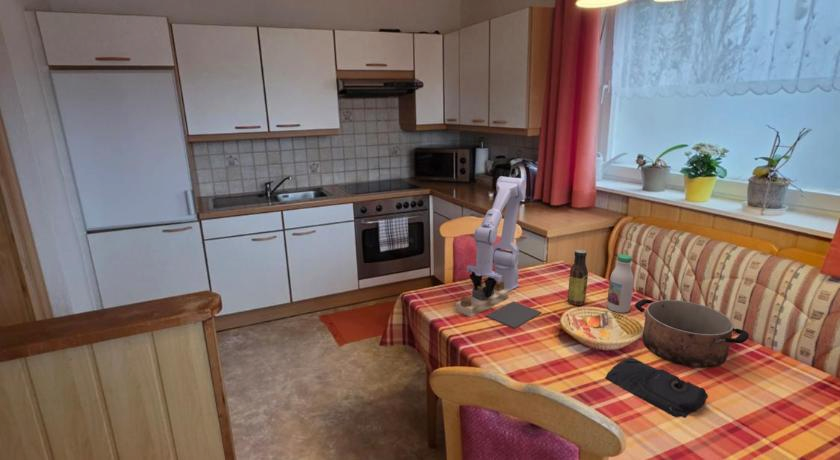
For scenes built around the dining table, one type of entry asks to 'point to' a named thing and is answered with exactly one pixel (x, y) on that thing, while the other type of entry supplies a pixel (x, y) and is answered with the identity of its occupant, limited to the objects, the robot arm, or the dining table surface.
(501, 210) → the robot arm
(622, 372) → the black flat holed part
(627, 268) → the milk bottle
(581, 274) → the sauce bottle
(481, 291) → the lever cap
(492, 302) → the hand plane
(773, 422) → the dining table surface
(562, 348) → the dining table surface
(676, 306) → the cooking pot
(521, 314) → the rubber mat
